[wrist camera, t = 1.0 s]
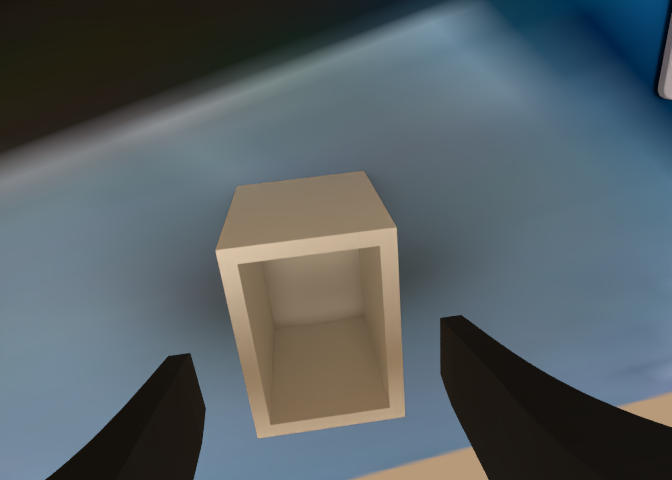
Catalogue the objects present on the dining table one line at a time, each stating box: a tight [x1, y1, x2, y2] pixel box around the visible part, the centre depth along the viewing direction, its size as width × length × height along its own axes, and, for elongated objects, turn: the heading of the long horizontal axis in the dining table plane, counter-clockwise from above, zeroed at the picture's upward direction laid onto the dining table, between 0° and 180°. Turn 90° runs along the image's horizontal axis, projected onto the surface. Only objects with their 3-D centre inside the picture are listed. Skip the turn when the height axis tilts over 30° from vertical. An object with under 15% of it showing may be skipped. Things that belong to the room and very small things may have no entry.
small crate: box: [215, 171, 405, 438], centre depth 17 cm, size 5×7×6 cm
